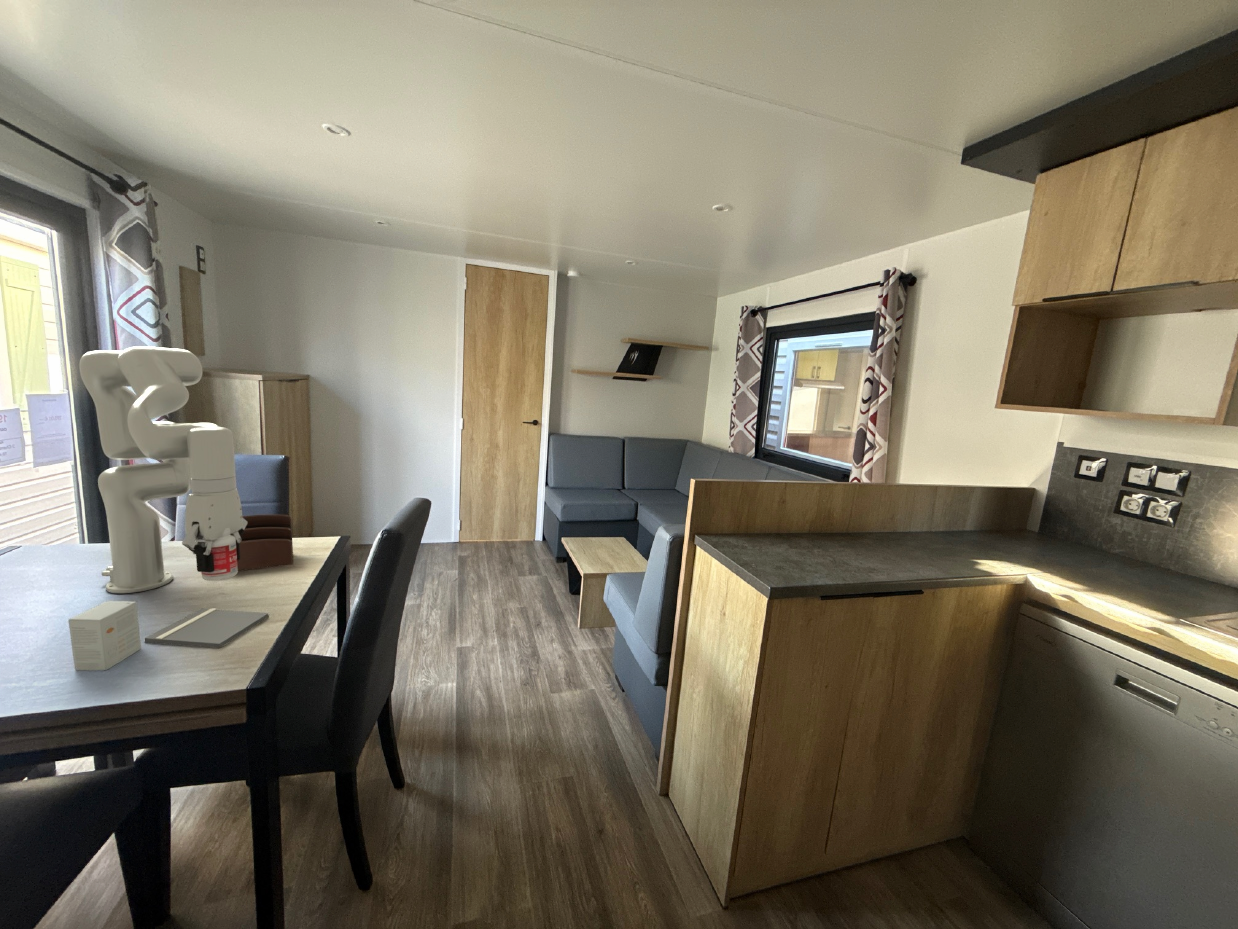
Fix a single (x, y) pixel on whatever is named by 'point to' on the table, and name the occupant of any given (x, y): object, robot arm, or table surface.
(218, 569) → the pill bottle
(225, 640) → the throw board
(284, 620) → the table surface
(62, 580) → the table surface
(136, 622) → the small box
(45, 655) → the table surface
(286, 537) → the letter holder
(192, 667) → the table surface
